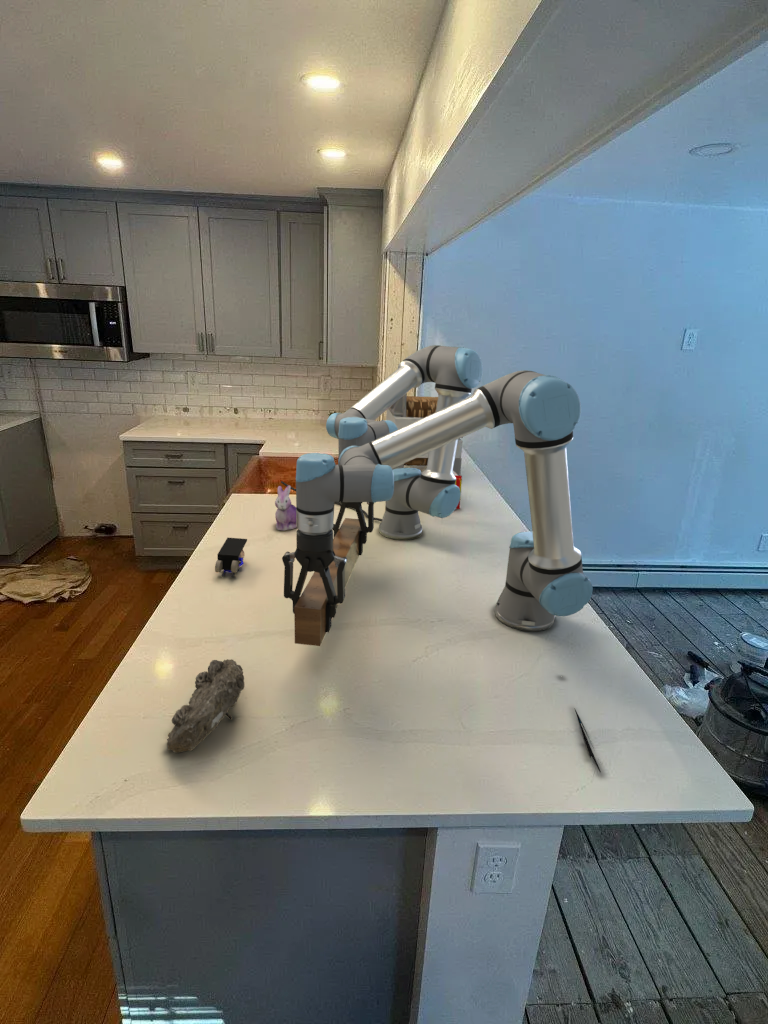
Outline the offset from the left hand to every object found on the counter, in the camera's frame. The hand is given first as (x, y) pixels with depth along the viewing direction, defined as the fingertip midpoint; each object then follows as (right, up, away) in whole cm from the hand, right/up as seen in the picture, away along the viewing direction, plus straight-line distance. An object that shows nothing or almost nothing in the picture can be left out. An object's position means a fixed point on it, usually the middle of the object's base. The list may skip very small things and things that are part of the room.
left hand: (349, 552), depth 163 cm
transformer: (+27, +30, +112) cm, 119 cm away
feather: (+48, -30, -51) cm, 76 cm away
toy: (+35, +17, +77) cm, 86 cm away
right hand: (-5, -14, -39) cm, 42 cm away
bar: (-3, -7, -19) cm, 21 cm away
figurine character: (-35, -6, +5) cm, 36 cm away
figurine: (-25, +6, +39) cm, 46 cm away
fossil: (-23, -28, -55) cm, 66 cm away
